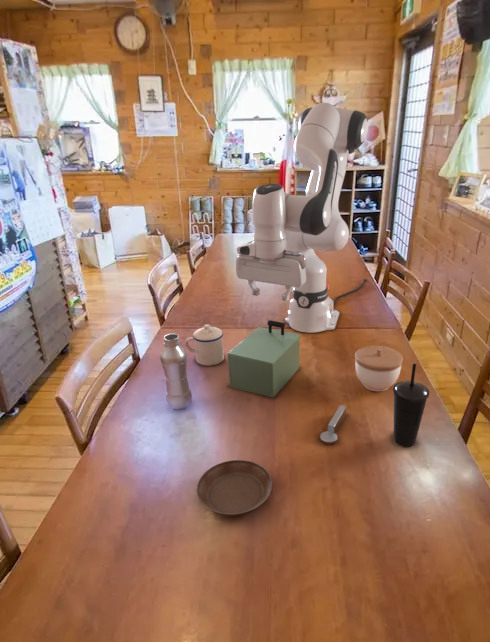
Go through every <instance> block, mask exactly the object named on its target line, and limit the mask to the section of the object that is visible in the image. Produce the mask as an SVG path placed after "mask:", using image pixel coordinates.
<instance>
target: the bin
mask: <svg viewBox="0 0 490 642" xmlns="http://www.w3.org/2000/svg"><path fill="white" fill-rule="evenodd" d="M227 364H228V365H227V366H228V381H229V387H230V388H233V389H237V390H241V391H244V392H249V393H253V394H257V395H260V396H264V397H269V398H272V399H274V398H275V397H276V396H277V394H279V392H280V391H281V390H282V389H283V388H284V386H285V385H286V384H287V383H288V382H289V381H290V379H291V378H292V377H294V375H295V374H296V372H297V371H298V370H299V369H300V338H299V339H298V340H297V341H296V342H295V343H294V344H293V345H292V346H291V347H290V349H289V350H288V351H287V352H286V353H285V354H284V355H283V356H282V357H281V358H280V359H279V360H278V361H277V362H276V363H275V364H274V365H273V366H272V365H267V364H263V363H258V362H254V361H249V360H245V359H240V358H236V357H232V356H228V355H227Z"/></svg>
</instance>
